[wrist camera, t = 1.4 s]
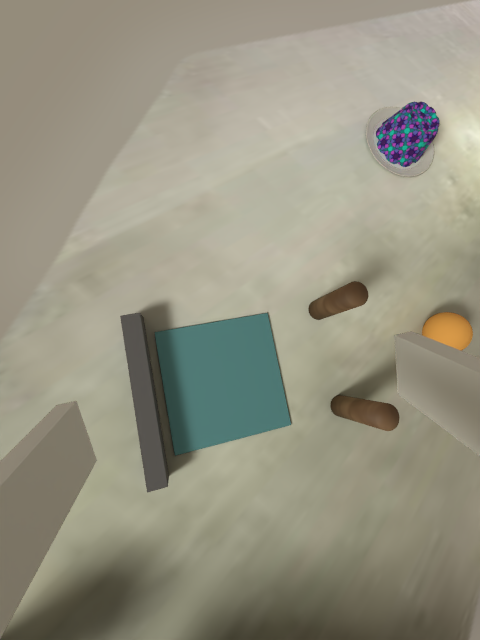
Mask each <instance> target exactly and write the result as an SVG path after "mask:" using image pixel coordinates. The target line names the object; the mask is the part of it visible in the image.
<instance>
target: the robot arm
mask: <svg viewBox="0 0 480 640" xmlns="http://www.w3.org/2000/svg"><path fill="white" fill-rule="evenodd" d="M394 337H395V354H396V372H397V390H398V395H399V396H401V397H402V398H403V399H405V400H406V401H407V402H409V403H410V404H411V405H413V406H414V407H415V408H417V409H418V410H419V411H421V412H422V413H423V414H425V415H426V416H427V417H429V418H430V419H431V420H433V421H434V422H435V423H437V424H438V425H439V426H441V427H442V428H443V429H445V430H446V431H447V432H448V433H450V434H451V435H452V436H454V437H455V438H456V439H458V440H459V441H460V442H462V443H463V444H464V445H466V446H467V447H468V448H470V449H471V450H472V451H474V452H475V453H476V454H478V455H479V456H480V358H479V357H476V356H473V355H471V354H468V353H466V352H463V351H461V350H458V349H456V348H453V347H450V346H448V345H445V344H443V343H440V342H438V341H435V340H433V339H430V338H428V337H425V336H422V335H420V334H417V333H415V332H412V331H411V332H406V333H401V334H396V335H394ZM96 461H97V459H96V457H95V454H94V451H93V448H92V445H91V442H90V439H89V436H88V433H87V430H86V427H85V424H84V422H83V419H82V416H81V413H80V410H79V407H78V404H77V401H74V402H69V403H64V404H59V405H56V406H55V407H54V408H53V409H52V410H51V411H50V412H49V413H48V414H47V415H46V416H45V417H44V418H43V419H42V420H41V421H40V422H39V423H38V424H37V425H36V426H35V427H34V428H33V429H32V430H31V431H30V432H29V433H28V434H27V435H26V436H25V437H24V438H23V439H22V440H21V441H20V442H19V443H18V444H17V445H16V446H15V447H14V448H13V449H12V450H11V451H10V452H9V453H8V454H7V455H6V456H5V457H4V458H3V459H2V460H1V461H0V639H1V637H2V635H3V633H4V631H5V630H6V628H7V626H8V624H9V622H10V620H11V618H12V617H13V615H14V613H15V611H16V609H17V607H18V605H19V604H20V602H21V600H22V598H23V596H24V594H25V592H26V591H27V589H28V587H29V585H30V583H31V581H32V579H33V578H34V576H35V574H36V572H37V570H38V568H39V567H40V565H41V563H42V561H43V559H44V557H45V555H46V554H47V552H48V550H49V548H50V546H51V544H52V542H53V541H54V539H55V537H56V535H57V533H58V531H59V529H60V528H61V526H62V524H63V522H64V520H65V518H66V516H67V515H68V513H69V511H70V509H71V507H72V505H73V504H74V502H75V500H76V498H77V496H78V494H79V492H80V491H81V489H82V487H83V485H84V483H85V481H86V479H87V478H88V476H89V474H90V472H91V470H92V468H93V466H94V465H95V463H96Z"/></svg>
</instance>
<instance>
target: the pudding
mask: <svg viewBox="0 0 480 640" xmlns="http://www.w3.org/2000/svg"><path fill="white" fill-rule="evenodd" d="M385 118H389V119H387V120H386V121H385V122H384V123H382V126H381V127H380V128H378V130H377V131H376V136H377V138H378V140H379V141H378V143H377V146H378V149H379V150H380V152H381V153H383V154H385V156H386V159H387V160H388V161H389V162H391V163H393V164H396V163H398V164H400V165H401V166H403V167H407V166H410V164H411V163H412V162H414V163H416V162H417V161H418V160H419V159H420V157H421V156H422V155H423V158H422V160H421V162H420V163H419V164H418V165H417V166H415V167H413V168H411V169H399V168H396V167H393V166H391V165H390V164H388V163H387V162H386V161H385V160H384V159H383V158H382V157H381V156H380V155H379V153H378V151H377V150H376V147H375V144H374V140H373V134H374V130H375V127H376V126H377V124H378V123H379V122H380V121H381V120H383V119H385ZM438 127H439V118H438V117H437V116H436V112H435V110H434V109H433V108H432V107H429V106H428V105H427V104H426V103H424V102H418V103H417V102H411V103H409V104H407V105H406V106H405V107H403V108H398V107H385V108H382V109H379V110H378V111H376V112H375V113H374V114H373V115H372V116H371V117H370V119H369V121H368V124H367V128H366V138H367V143H368V146H369V148H370V150H371V152H372V154H373V156H374V157H375V158H376V160H377V161H378V162H379V163H380V164H381V165H382V166H383V167H384V168H386V169H387V170H389V171H390V172H392V173H394V174H397V175H400V176H406V177H412V176H417V175H419V174H422V173H423V172H425V171H426V170H427V169H428V168H429V166H430V165H431V163H432V160H433V157H434V145H433V139H434V138H435V136H436V134H437V132H438ZM423 153H424V154H423Z"/></svg>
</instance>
